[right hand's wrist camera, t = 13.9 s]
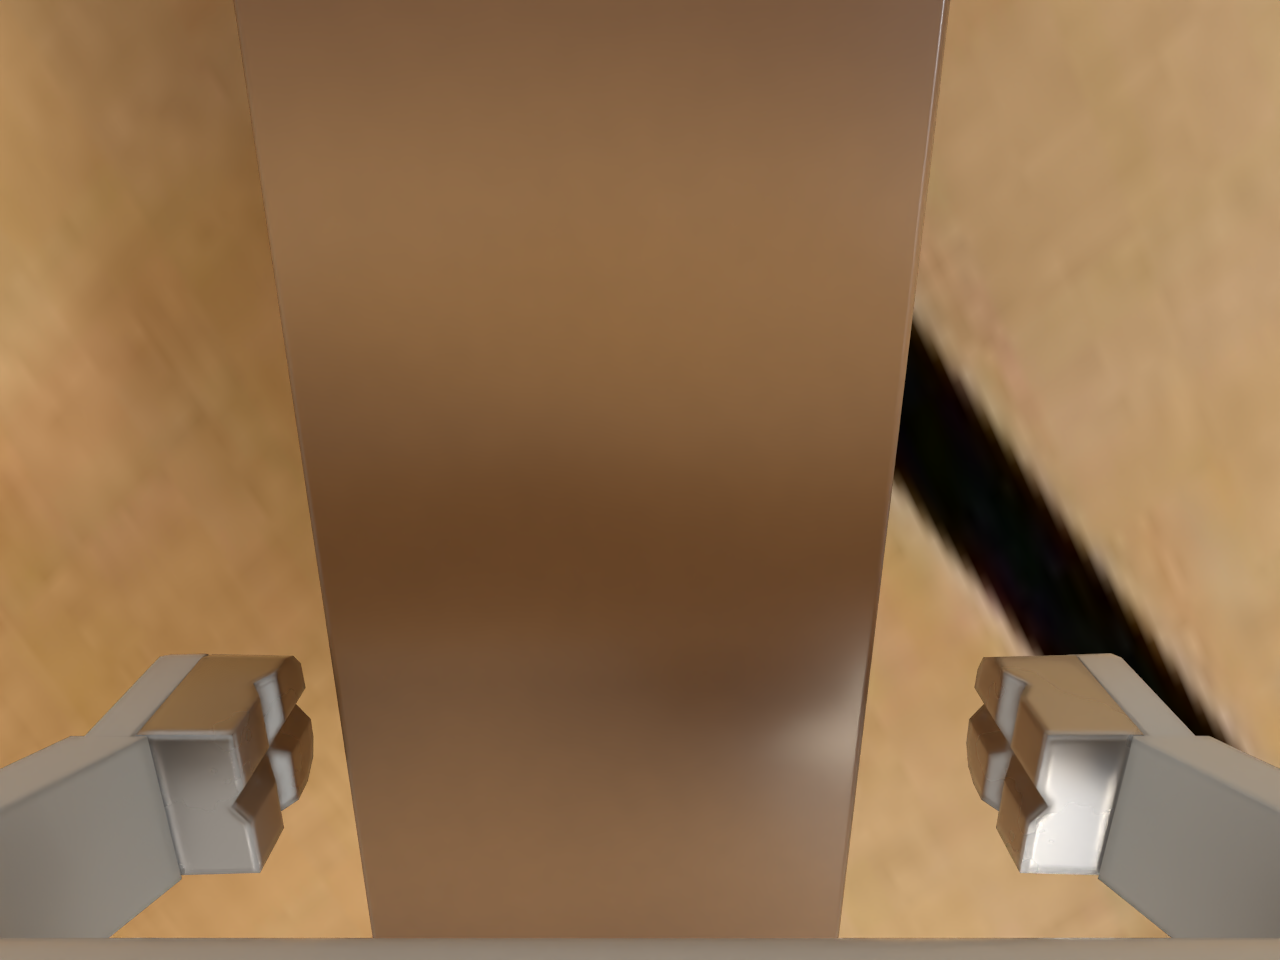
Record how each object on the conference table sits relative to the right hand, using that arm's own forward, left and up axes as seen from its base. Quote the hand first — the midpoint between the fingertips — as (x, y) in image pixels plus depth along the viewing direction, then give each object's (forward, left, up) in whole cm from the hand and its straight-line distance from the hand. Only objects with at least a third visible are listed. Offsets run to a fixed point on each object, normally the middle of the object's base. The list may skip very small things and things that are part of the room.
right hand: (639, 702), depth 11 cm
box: (+6, +3, -9) cm, 12 cm away
